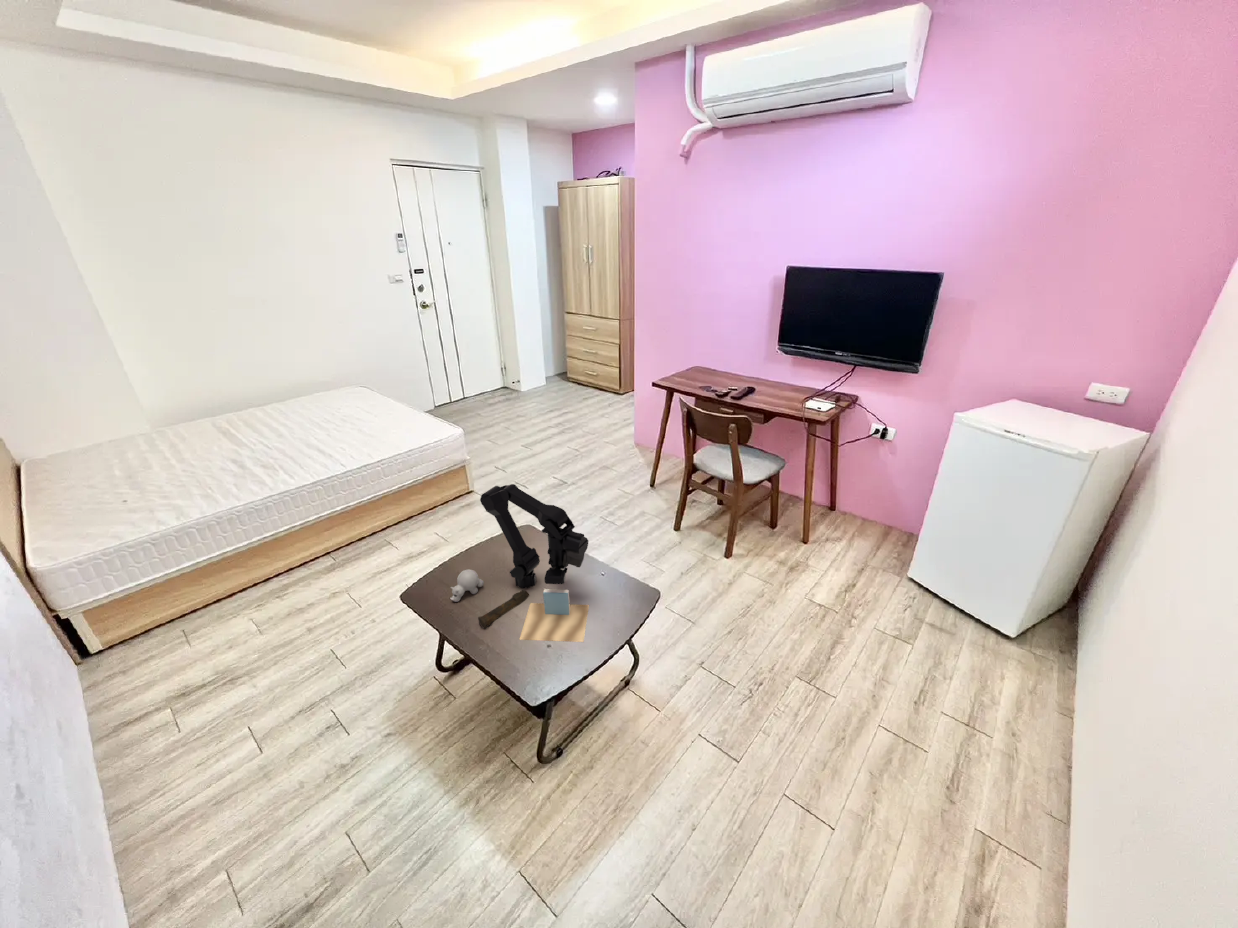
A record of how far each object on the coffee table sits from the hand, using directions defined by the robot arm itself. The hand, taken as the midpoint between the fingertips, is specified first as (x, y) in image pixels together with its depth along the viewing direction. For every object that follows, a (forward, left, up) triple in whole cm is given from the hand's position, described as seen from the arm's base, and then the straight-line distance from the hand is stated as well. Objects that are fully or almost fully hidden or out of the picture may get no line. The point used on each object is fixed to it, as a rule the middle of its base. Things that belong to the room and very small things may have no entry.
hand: (560, 582), depth 161 cm
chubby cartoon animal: (-34, +1, -8) cm, 35 cm away
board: (0, -11, -8) cm, 14 cm away
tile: (0, -7, -6) cm, 10 cm away
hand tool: (-18, -6, -8) cm, 21 cm away
